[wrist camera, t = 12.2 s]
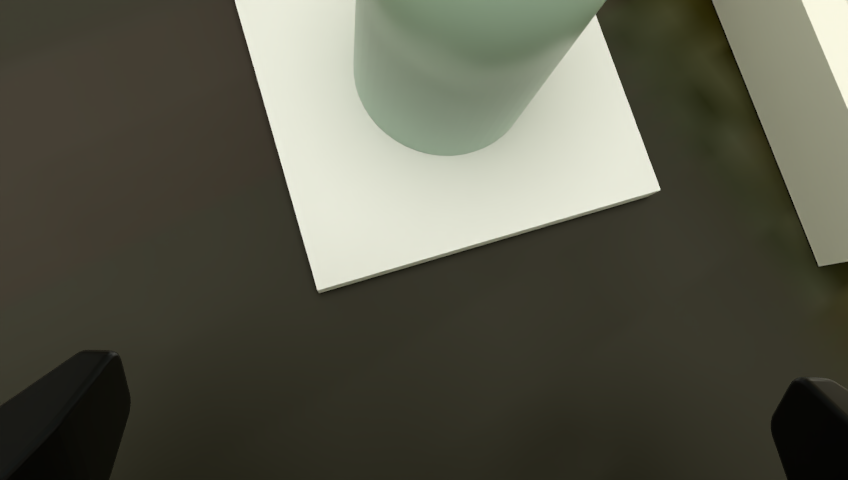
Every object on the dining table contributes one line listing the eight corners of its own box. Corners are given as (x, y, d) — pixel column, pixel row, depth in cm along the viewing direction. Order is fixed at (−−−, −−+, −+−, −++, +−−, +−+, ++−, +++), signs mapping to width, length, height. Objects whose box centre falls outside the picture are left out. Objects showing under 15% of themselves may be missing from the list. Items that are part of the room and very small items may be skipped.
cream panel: (646, 196, 18) (660, 189, 17) (318, 293, 17) (317, 290, 16) (539, -98, 20) (547, -116, 19) (225, -36, 18) (219, -54, 17)
